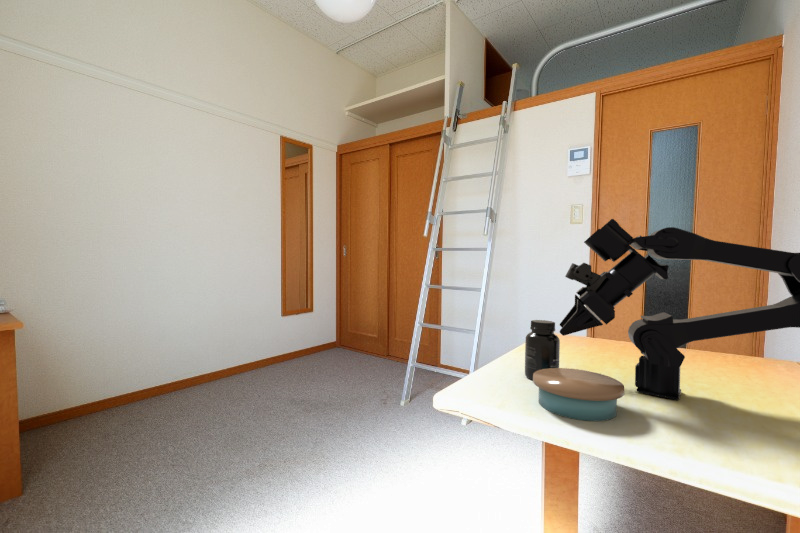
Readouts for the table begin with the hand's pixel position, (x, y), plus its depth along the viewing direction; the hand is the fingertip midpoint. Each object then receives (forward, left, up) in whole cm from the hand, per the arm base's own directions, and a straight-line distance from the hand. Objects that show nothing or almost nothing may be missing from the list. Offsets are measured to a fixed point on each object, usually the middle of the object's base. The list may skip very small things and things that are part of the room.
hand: (561, 329), depth 78 cm
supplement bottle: (+3, +1, -11) cm, 11 cm away
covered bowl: (-7, +13, -10) cm, 18 cm away
